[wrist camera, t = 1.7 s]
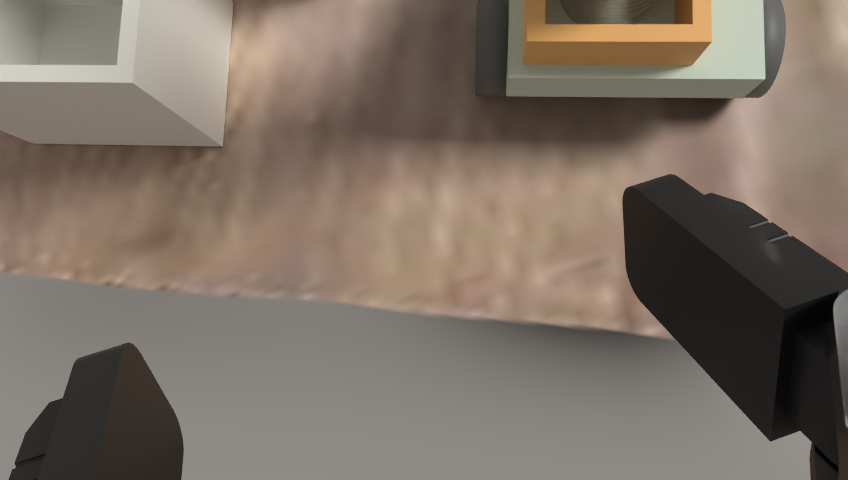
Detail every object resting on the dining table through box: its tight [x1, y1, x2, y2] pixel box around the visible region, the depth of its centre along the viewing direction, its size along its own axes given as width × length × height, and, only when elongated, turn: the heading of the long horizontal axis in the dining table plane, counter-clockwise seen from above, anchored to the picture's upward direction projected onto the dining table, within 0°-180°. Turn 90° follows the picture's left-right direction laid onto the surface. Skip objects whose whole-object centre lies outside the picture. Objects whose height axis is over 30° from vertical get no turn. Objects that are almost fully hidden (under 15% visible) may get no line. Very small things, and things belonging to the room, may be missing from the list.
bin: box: [0, 0, 234, 147], centre depth 27 cm, size 7×9×8 cm
